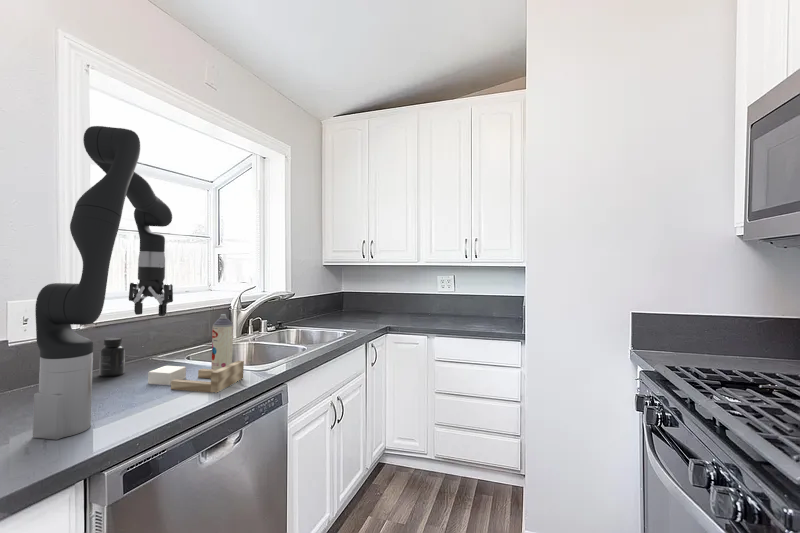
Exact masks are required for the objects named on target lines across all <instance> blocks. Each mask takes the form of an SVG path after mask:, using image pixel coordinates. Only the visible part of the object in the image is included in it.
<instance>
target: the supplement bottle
mask: <svg viewBox="0 0 800 533" xmlns="http://www.w3.org/2000/svg"><path fill="white" fill-rule="evenodd" d="M122 339H123V338H122V337H109V338H104V339H103V340H104V341H103V345H104V346H103V347H102V348H101V349H100V351H99V371H98V372H99V376H100V377H103V378H104V377H105V378H110V377H117V376H120V375H121V376H122V375H123V374H124V373H125V363H126V362H125V358H126V350H125V349H126V348H125V347H124V346H123V340H122Z"/></svg>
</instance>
